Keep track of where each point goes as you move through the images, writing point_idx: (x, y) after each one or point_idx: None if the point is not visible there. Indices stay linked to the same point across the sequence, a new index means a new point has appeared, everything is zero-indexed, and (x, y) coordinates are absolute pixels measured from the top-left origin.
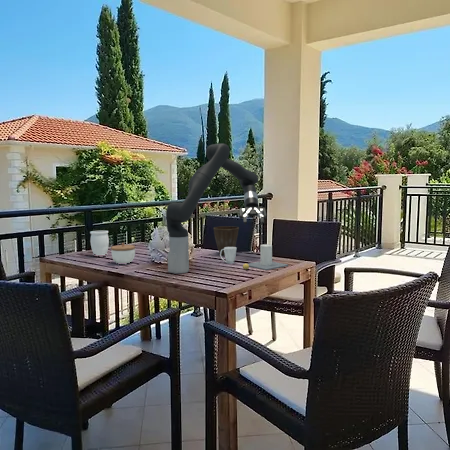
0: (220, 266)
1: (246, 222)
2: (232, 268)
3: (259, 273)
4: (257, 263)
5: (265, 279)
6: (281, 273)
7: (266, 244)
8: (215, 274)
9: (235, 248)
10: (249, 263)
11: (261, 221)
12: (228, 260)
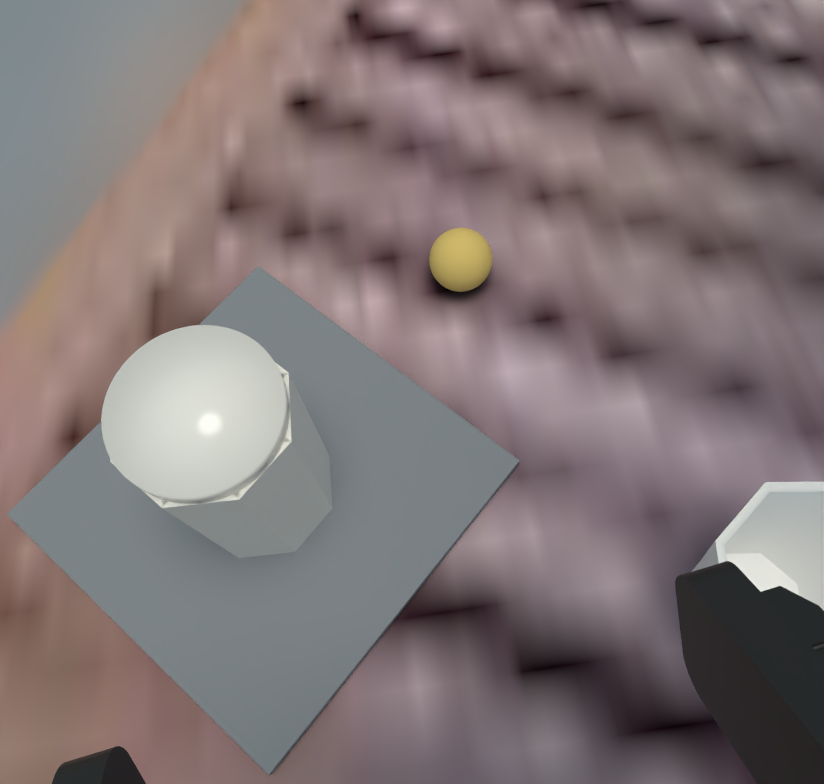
0: (769, 378)
1: (684, 576)
2: (607, 305)
3: (316, 158)
4: (373, 535)
5: (257, 3)
6: (126, 186)
7: (188, 477)
8: (680, 73)
9: (719, 538)
10: (469, 519)
11: (105, 764)
12: (755, 547)
